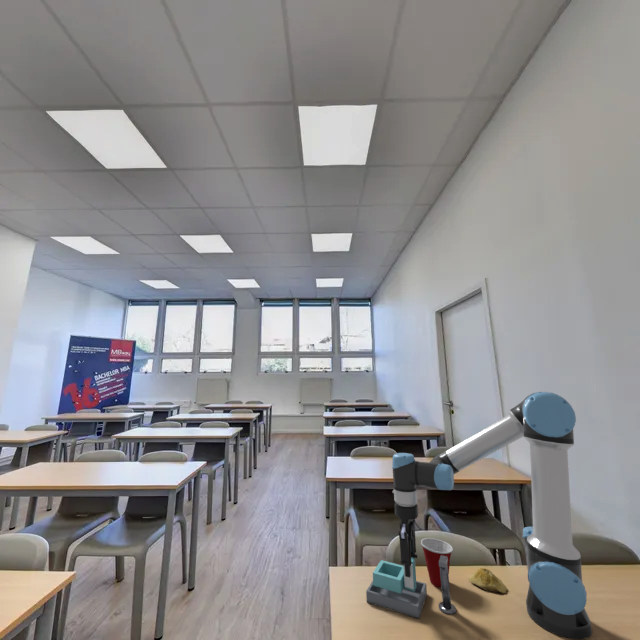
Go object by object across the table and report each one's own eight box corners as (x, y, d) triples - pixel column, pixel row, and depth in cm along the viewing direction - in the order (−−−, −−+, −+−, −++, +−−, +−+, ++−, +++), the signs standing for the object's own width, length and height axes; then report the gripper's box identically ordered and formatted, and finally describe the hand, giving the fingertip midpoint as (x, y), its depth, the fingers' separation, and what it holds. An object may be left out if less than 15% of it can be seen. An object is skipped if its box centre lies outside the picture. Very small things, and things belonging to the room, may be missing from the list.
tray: (426, 594, 101) (426, 583, 102) (419, 618, 90) (418, 606, 91) (379, 580, 109) (378, 570, 109) (366, 602, 98) (366, 590, 98)
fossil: (503, 563, 108) (496, 576, 101) (511, 584, 106) (503, 598, 99) (472, 561, 115) (463, 573, 108) (478, 581, 113) (469, 594, 105)
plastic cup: (461, 593, 102) (457, 551, 105) (428, 592, 102) (425, 550, 105) (449, 574, 112) (446, 537, 115) (419, 573, 113) (417, 536, 116)
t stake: (456, 606, 95) (452, 557, 98) (455, 616, 91) (450, 565, 94) (439, 601, 98) (435, 553, 101) (437, 611, 93) (433, 561, 96)
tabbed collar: (418, 581, 101) (416, 553, 103) (412, 597, 94) (410, 566, 96) (381, 571, 107) (380, 545, 109) (373, 585, 100) (372, 556, 101)
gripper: (400, 494, 113) (404, 568, 107) (388, 508, 99) (392, 594, 93) (421, 497, 109) (427, 574, 104) (411, 512, 95) (417, 602, 90)
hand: (410, 584), depth 99 cm, fingers closed on tabbed collar, 3 cm apart
